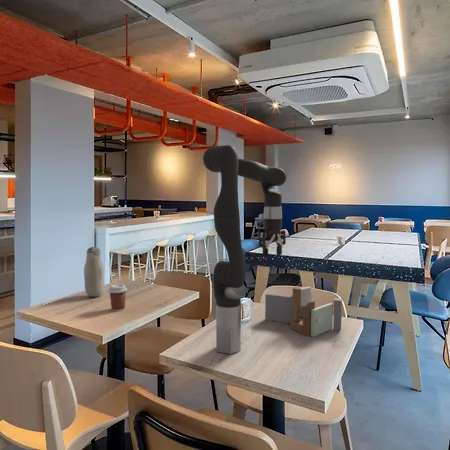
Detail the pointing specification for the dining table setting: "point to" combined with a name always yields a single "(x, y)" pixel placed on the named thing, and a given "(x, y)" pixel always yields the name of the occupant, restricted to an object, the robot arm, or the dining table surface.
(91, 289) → the beige bottle
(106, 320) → the dining table surface
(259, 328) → the dining table surface
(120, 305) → the coffee cup
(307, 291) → the smart speaker
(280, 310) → the wall frame
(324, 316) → the door
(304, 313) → the wooden block
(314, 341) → the dining table surface
